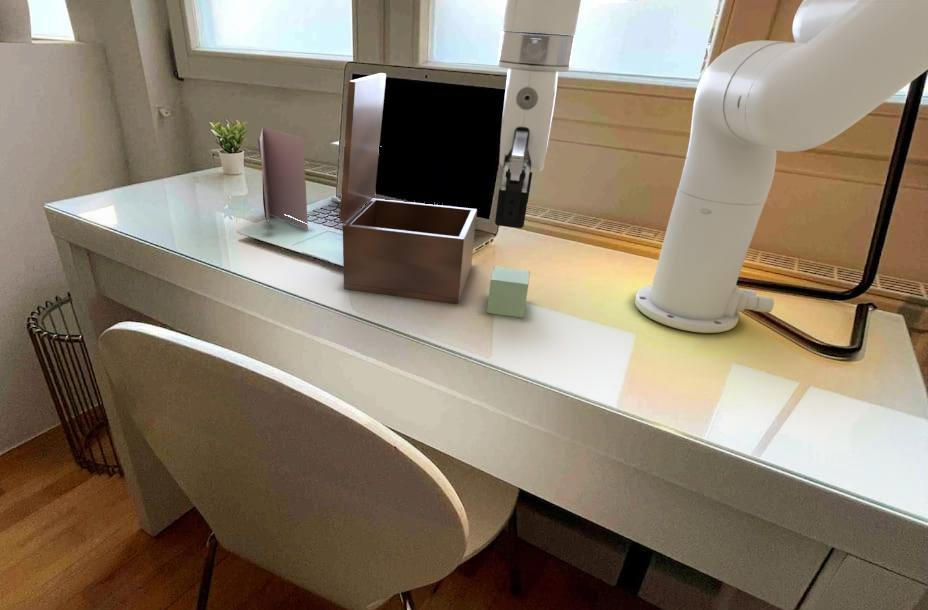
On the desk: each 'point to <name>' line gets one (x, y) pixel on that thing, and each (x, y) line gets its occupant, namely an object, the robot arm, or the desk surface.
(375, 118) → the box lid
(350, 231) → the box
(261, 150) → the greeting card
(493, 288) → the block
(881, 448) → the desk surface
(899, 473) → the desk surface
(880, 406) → the desk surface
